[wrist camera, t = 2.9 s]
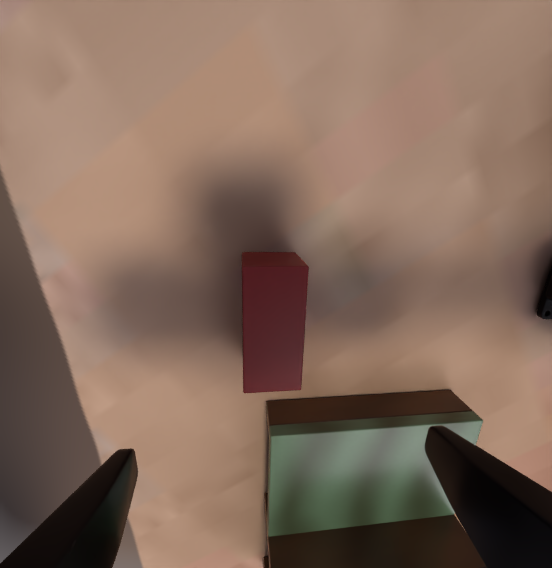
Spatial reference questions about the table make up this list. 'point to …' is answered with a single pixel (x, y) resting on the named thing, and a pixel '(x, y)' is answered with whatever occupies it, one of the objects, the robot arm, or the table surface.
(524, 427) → the table surface
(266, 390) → the red rectangular block
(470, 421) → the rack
